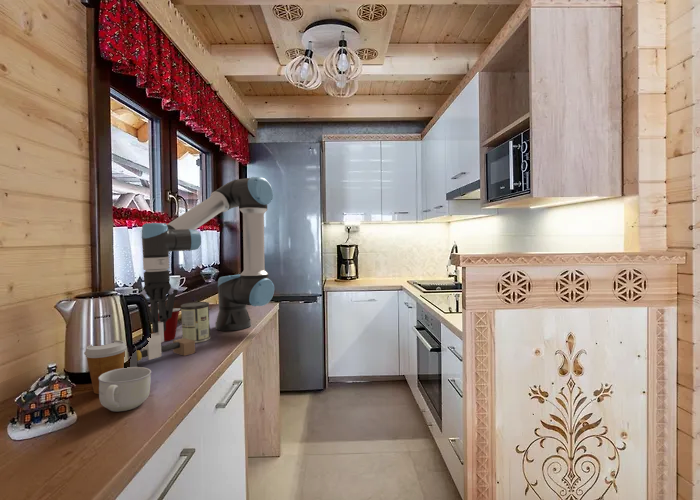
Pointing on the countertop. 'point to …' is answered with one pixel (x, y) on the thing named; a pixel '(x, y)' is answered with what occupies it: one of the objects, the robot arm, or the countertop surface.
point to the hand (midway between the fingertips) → (159, 341)
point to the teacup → (124, 388)
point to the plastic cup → (171, 325)
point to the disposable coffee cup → (104, 360)
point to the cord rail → (177, 346)
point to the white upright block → (153, 346)
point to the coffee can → (195, 321)
